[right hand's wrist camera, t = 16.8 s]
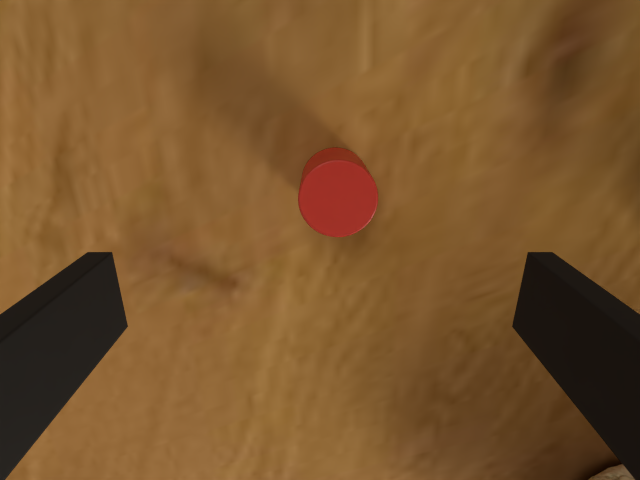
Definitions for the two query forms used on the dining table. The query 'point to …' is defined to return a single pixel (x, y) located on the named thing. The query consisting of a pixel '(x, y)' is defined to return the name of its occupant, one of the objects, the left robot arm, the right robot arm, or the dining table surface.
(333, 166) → the canister
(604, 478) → the bowl
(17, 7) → the dining table surface
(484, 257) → the dining table surface
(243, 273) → the dining table surface
